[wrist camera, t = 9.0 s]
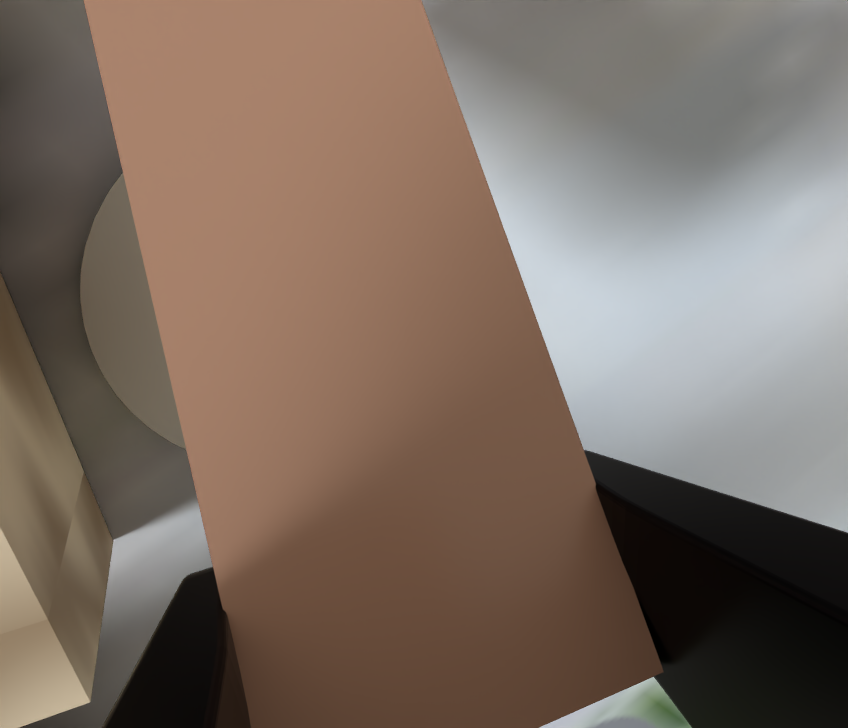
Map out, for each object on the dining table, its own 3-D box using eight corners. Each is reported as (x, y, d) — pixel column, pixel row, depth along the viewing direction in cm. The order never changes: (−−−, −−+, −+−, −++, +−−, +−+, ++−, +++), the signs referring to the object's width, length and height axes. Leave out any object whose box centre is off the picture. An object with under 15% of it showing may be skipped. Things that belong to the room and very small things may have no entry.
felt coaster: (467, 407, 19) (475, 417, 18) (151, 496, 16) (150, 510, 16) (439, 79, 15) (449, 78, 14) (17, 133, 12) (10, 135, 12)
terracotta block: (564, 637, 9) (663, 671, 6) (280, 751, 8) (276, 844, 5) (382, 94, 11) (408, -33, 8) (133, 127, 10) (81, -9, 7)
